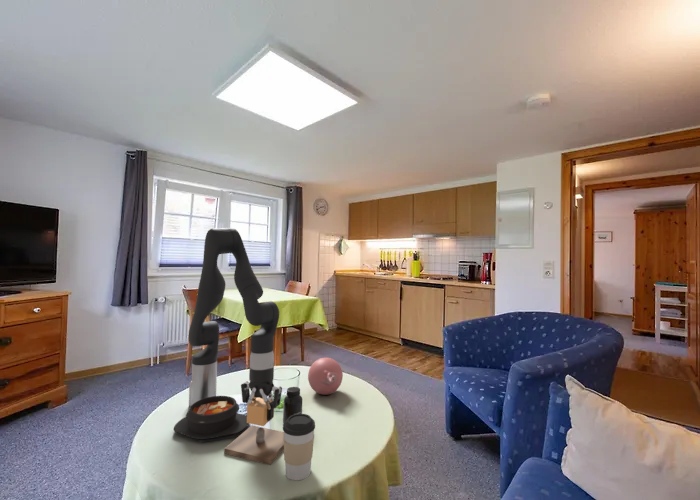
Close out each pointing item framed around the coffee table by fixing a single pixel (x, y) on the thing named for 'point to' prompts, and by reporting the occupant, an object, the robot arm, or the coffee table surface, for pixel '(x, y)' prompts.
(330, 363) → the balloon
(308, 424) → the coffee cup
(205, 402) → the casserole
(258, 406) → the peach cube
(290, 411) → the supplement bottle
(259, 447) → the post stand
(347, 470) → the coffee table surface
